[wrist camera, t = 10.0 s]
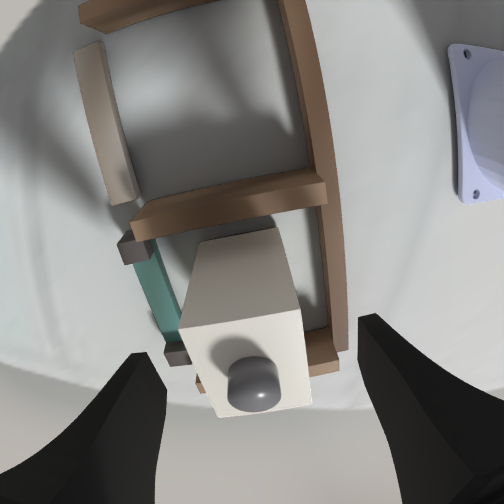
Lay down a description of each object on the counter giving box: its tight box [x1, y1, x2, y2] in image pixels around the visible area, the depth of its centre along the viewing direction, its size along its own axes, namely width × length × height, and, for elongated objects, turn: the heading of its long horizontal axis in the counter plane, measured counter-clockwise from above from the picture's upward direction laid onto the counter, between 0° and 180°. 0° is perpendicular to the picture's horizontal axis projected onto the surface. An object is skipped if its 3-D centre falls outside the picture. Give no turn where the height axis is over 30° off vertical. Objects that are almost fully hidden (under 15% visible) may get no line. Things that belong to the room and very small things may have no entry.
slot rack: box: [73, 0, 348, 393], centre depth 12 cm, size 9×18×2 cm, turn 11°
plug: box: [178, 227, 312, 418], centre depth 12 cm, size 4×4×7 cm
